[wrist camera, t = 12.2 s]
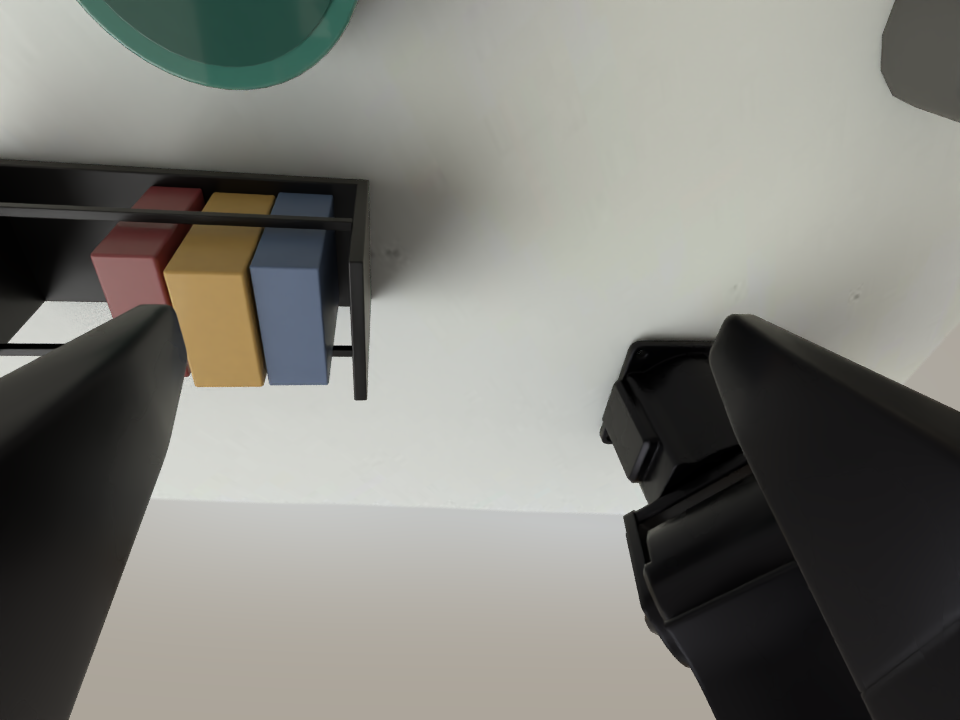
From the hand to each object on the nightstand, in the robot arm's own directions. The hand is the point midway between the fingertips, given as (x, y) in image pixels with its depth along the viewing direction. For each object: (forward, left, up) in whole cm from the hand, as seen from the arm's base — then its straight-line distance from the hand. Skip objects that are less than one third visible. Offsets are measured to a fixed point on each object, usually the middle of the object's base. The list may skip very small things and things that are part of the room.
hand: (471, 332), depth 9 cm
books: (+6, +4, -11) cm, 14 cm away
